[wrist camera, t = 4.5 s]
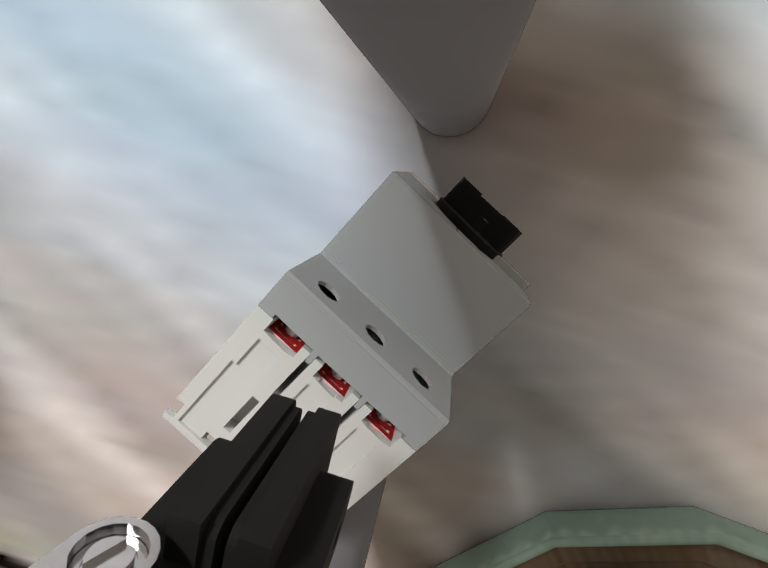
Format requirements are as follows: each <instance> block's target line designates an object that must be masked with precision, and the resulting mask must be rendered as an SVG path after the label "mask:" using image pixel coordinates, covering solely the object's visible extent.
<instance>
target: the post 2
mask: <svg viewBox="0 0 768 568" xmlns="http://www.w3.org/2000/svg"><path fill="white" fill-rule="evenodd" d="M320 1H321V3H322V4H323V5H324V6H325V8H326V9H327V10H328V11H329V13H330V14H331V15H332V16H333V17H334V19H335V20H336V21H337V22H338V24H339V25H340V26H341V27H342V29H343V30H344V31H345V32H346V34H347V35H348V36H349V37H350V39H351V40H352V41H353V42H354V43H355V45H356V46H357V47H358V48H359V50H360V51H361V52H362V53H363V55H364V56H365V57H366V58H367V60H368V61H369V62H370V63H371V64H372V66H373V67H374V68H375V69H376V71H377V72H378V73H379V74H380V76H381V77H382V78H383V79H384V81H385V82H386V83H387V84H388V86H389V87H390V88H391V89H392V90H393V92H394V93H395V94H396V95H397V97H398V98H399V99H400V100H401V102H402V103H403V104H404V105H405V107H406V108H407V109H408V110H409V112H410V113H411V114H412V115H413V116H414V118H415V119H416V120H417V121H418V123H419V124H420V125H421V126H422V127H423V128H425V129H426V130H427V131H429V132H431V133H433V134H436V135H439V136H444V137H452V136H458V135H462V134H464V133H467V132H469V131H470V130H472V129H473V128H475V127H476V126H477V125H478V124H479V123H480V122H481V121H482V120H483V119H484V117H485V116H486V114H487V113H488V111H489V109H490V106H491V104H492V102H493V99H494V97H495V95H496V92H497V90H498V88H499V85H500V83H501V81H502V78H503V76H504V74H505V71H506V69H507V67H508V64H509V62H510V60H511V57H512V55H513V53H514V50H515V48H516V46H517V43H518V41H519V39H520V36H521V34H522V32H523V29H524V27H525V25H526V22H527V20H528V18H529V15H530V13H531V11H532V8H533V6H534V4H535V1H536V0H320Z"/></svg>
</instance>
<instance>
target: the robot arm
mask: <svg viewBox="0 0 768 568" xmlns="http://www.w3.org/2000/svg"><path fill="white" fill-rule="evenodd" d="M301 416H302V408H299V407H296V400H295V399H291V398H288V397H285V396H282V395H279V394H275V393H273V394H272V395H271V396H270V397H269V398H268V399H267V400H266V402H265V403H264V404H263V405H262V406H261V407H260V408H259V410H258V411H257V412H256V413H255V414H254V415H253V417H252V418H251V419H250V420H249V421H248V422H247V423H246V425H245V426H244V427H243V428H242V429H241V430H240V432H239V433H238V434H237V435H236V436H235V437H234V439H233V440H232V441H230V440H227V439H224V438H221V437H220V438H217V439H216V440H215V441H213V442H212V443H211V444H210V445H209V446H208V448H207V449H206V450H205V451H204V452H203V453H202V454H201V455H200V456H199V457H198V458H197V459H196V460H195V462H194V463H193V464H192V465H191V466H190V467H189V468H188V469H187V470H186V471H185V472H184V473H183V474H182V475H181V477H180V478H179V479H178V480H177V481H176V482H175V483H174V484H173V485H172V486H171V487H170V488H169V489H168V491H167V492H166V493H165V494H164V495H163V496H162V497H161V498H160V499H159V500H158V501H157V502H156V503H155V504H154V506H153V507H152V508H151V509H150V510H149V511H148V512H147V513H146V514H145V515H144V516H143V517H142V518H141V519H139V518H136V517H127V516H118V517H111V518H105V519H102V520H99V521H97V522H94V523H91V524H89V525H87V526H86V527H84V528H82V529H81V530H79V531H77V532H76V533H74V534H73V535H71V536H70V537H69V538H67V539H66V540H65V541H63V542H62V543H61V544H59V545H58V546H57V547H55V548H54V549H53V550H51V551H50V552H49V553H47V554H46V555H45V556H43V557H42V558H41V559H39V560H38V561H37V562H35V563H34V564H33V565H31V566H30V567H29V568H329V566H330V563H331V560H332V557H333V554H334V551H335V548H336V545H337V542H338V538H339V535H340V532H341V529H342V525H343V522H344V518H345V515H346V511H347V507H348V504H349V500H350V496H351V492H352V488H353V484H354V481H352V480H349V479H346V478H343V477H340V476H337V475H334V474H331V473H328V469H329V465H330V461H331V457H332V453H333V449H334V444H335V440H336V436H337V432H338V428H339V424H340V419H341V414H339V413H336V412H333V411H330V410H327V409H323V408H320V407H319V408H318V409H317V410H316V412H312V411H307V413H306V414H305V416H304V417H303V419H302V420H301ZM300 421H301V422H300Z"/></svg>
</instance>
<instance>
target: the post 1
mask: <svg viewBox="0 0 768 568" xmlns="http://www.w3.org/2000/svg"><path fill="white" fill-rule="evenodd" d="M386 477H387V476H386ZM386 477H385V478H384V479H383V480H382V481H381V482H379V483H378V484H377V485H376V486H375V487H373V488H372V489H371V490H370V491H369V492H368V493H366V494H365V495H364V496H363V497H362V498H361V499H359V500H358V501H357V502H356V503H355V504H354V505H352V506H351V507H350V508H349V509H348V510H347V511H346V515H345V518H344V522H343V525H342V529H341V532H340V535H339V538H338V542H337V545H336V548H335V551H334V554H333V557H332V560H331V563H330V566H329V568H364V567H365V563H366V559H367V555H368V551H369V546H370V542H371V538H372V534H373V530H374V526H375V522H376V518H377V514H378V510H379V506H380V502H381V498H382V494H383V490H384V486H385V482H386Z"/></svg>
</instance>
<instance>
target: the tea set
mask: <svg viewBox="0 0 768 568" xmlns="http://www.w3.org/2000/svg"><path fill="white" fill-rule="evenodd" d="M437 568H768V534H767V533H764V532H761V531H759V530H756V529H753V528H750V527H748V526H745V525H742V524H740V523H737V522H734V521H731V520H729V519H726V518H723V517H720V516H718V515H715V514H712V513H710V512H707V511H704V510H701V509H699V508H696V507H693V506H689V507H660V508H632V509H604V510H576V511H548V512H544V513H542V514H540V515H538V516H536V517H534V518H532V519H530V520H528V521H526V522H524V523H522V524H520V525H518V526H516V527H514V528H512V529H510V530H508V531H506V532H504V533H502V534H500V535H498V536H496V537H494V538H492V539H490V540H488V541H486V542H484V543H482V544H480V545H478V546H476V547H474V548H472V549H469V550H467V551H465V552H463V553H461V554H459V555H457V556H455V557H453V558H451V559H449V560H447V561H445V562H443V563H441V564H439V565H438V566H437Z"/></svg>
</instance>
